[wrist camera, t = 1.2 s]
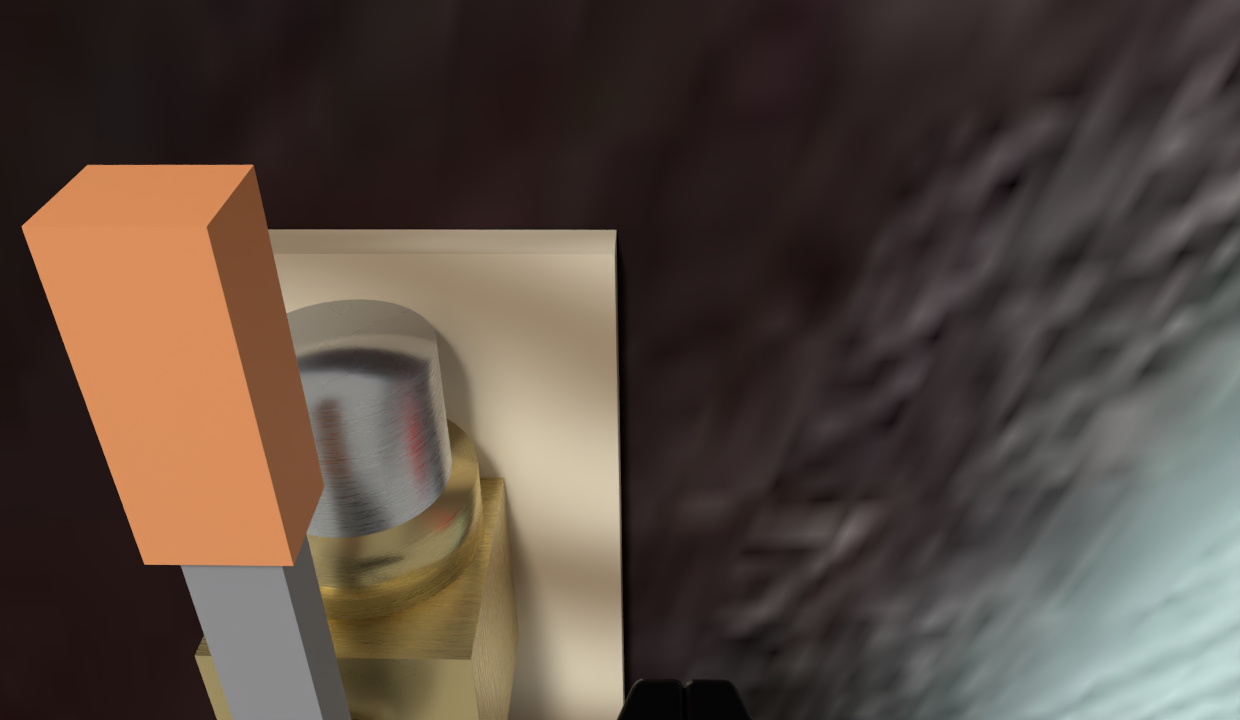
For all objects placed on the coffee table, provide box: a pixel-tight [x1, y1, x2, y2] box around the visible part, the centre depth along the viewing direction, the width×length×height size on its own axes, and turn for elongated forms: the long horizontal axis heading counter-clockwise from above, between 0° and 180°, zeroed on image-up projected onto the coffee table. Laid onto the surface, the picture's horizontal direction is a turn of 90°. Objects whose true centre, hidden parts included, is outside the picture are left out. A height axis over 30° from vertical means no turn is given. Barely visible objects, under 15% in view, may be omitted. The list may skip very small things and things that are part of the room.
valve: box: [195, 299, 519, 720], centre depth 23 cm, size 14×5×6 cm, turn 1°
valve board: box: [268, 230, 625, 720], centre depth 25 cm, size 16×10×1 cm, turn 1°
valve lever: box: [22, 165, 351, 720], centre depth 16 cm, size 14×3×2 cm, turn 1°
